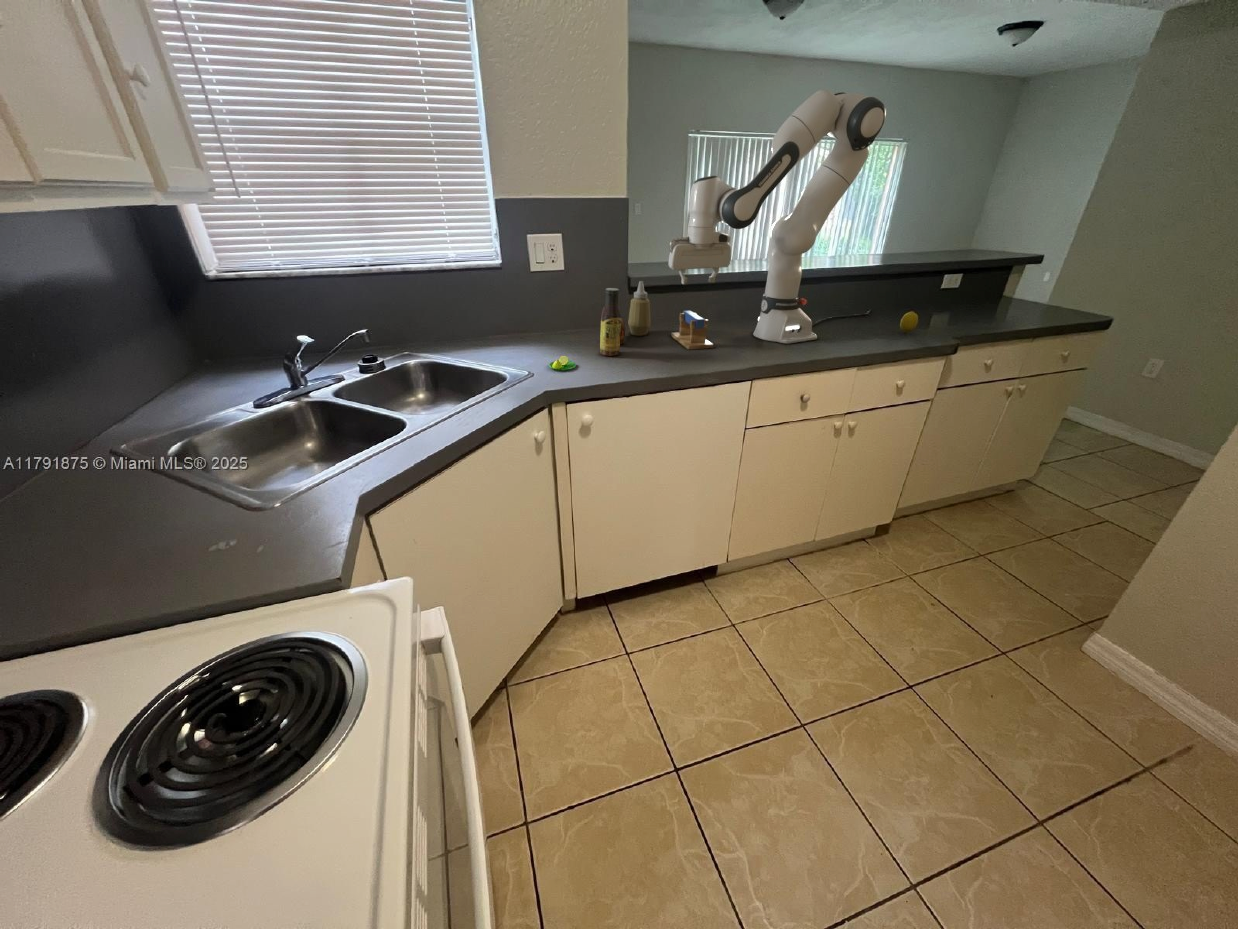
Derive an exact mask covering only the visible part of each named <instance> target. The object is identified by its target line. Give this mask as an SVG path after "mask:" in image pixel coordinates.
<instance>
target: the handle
mask: <svg viewBox="0 0 1238 929" xmlns="http://www.w3.org/2000/svg"><path fill="white" fill-rule="evenodd" d="M682 313H683V314H684V321H686V322H687V323H689V324H690V321H691V320H694V321H695V328H696V329H699V328H704V320H705V318H704V317H702V316H700V315H698V313H697V314H695V313H696V312H694V311H692V310H683V312H682Z"/></svg>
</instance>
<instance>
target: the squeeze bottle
mask: <svg viewBox="0 0 1238 929" xmlns="http://www.w3.org/2000/svg"><path fill="white" fill-rule="evenodd" d="M627 324H628V327H629V331H630V334H631V335H633V336H639V337H642V336H646V335H647V334H648V333H649V330H650V328H651V325H652V321H651V302H650V300H649V299H648V292H647V291H645V287H644V281H643V280H639V282H638V286H637V290H636V291H634V292H633V298H632V299H630V306H629V313H628V321H627Z"/></svg>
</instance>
